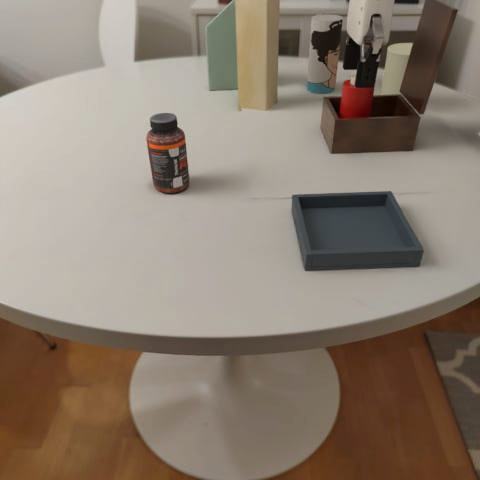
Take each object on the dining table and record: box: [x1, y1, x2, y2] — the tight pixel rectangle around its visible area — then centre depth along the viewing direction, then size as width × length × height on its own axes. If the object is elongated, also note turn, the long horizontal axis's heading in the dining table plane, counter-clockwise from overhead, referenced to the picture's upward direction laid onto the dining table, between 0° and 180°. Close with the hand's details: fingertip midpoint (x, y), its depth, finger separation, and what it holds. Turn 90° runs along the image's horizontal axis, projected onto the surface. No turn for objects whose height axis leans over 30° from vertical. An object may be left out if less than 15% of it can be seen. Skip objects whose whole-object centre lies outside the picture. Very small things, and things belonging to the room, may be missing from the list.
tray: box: [291, 190, 425, 271], centre depth 62 cm, size 15×15×3 cm
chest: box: [320, 94, 422, 155], centre depth 84 cm, size 15×12×7 cm
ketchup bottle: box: [339, 73, 376, 118], centre depth 82 cm, size 5×5×11 cm
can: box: [379, 42, 415, 110], centre depth 96 cm, size 9×9×12 cm
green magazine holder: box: [204, 0, 238, 91], centre depth 107 cm, size 16×8×20 cm, turn 96°
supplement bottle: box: [145, 112, 190, 194], centre depth 71 cm, size 6×6×11 cm
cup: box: [306, 13, 344, 95], centre depth 104 cm, size 7×7×15 cm
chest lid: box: [399, 0, 459, 115], centre depth 76 cm, size 15×12×1 cm
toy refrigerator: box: [235, 0, 281, 112], centre depth 95 cm, size 8×7×21 cm
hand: (357, 77), depth 78 cm, fingers open, 9 cm apart
